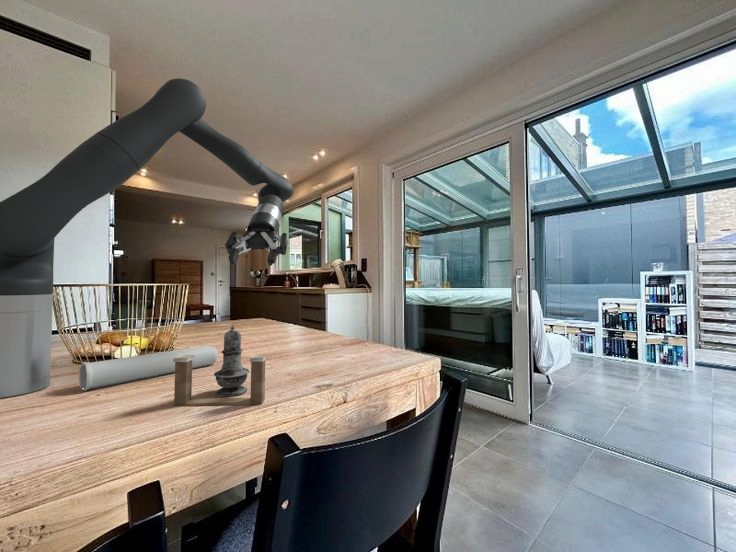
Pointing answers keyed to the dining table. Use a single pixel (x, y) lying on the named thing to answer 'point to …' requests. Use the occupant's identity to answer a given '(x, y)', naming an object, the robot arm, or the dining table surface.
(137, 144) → the robot arm
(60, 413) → the dining table surface
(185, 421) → the dining table surface
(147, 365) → the tube
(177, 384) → the walnut gate
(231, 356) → the salt shaker
